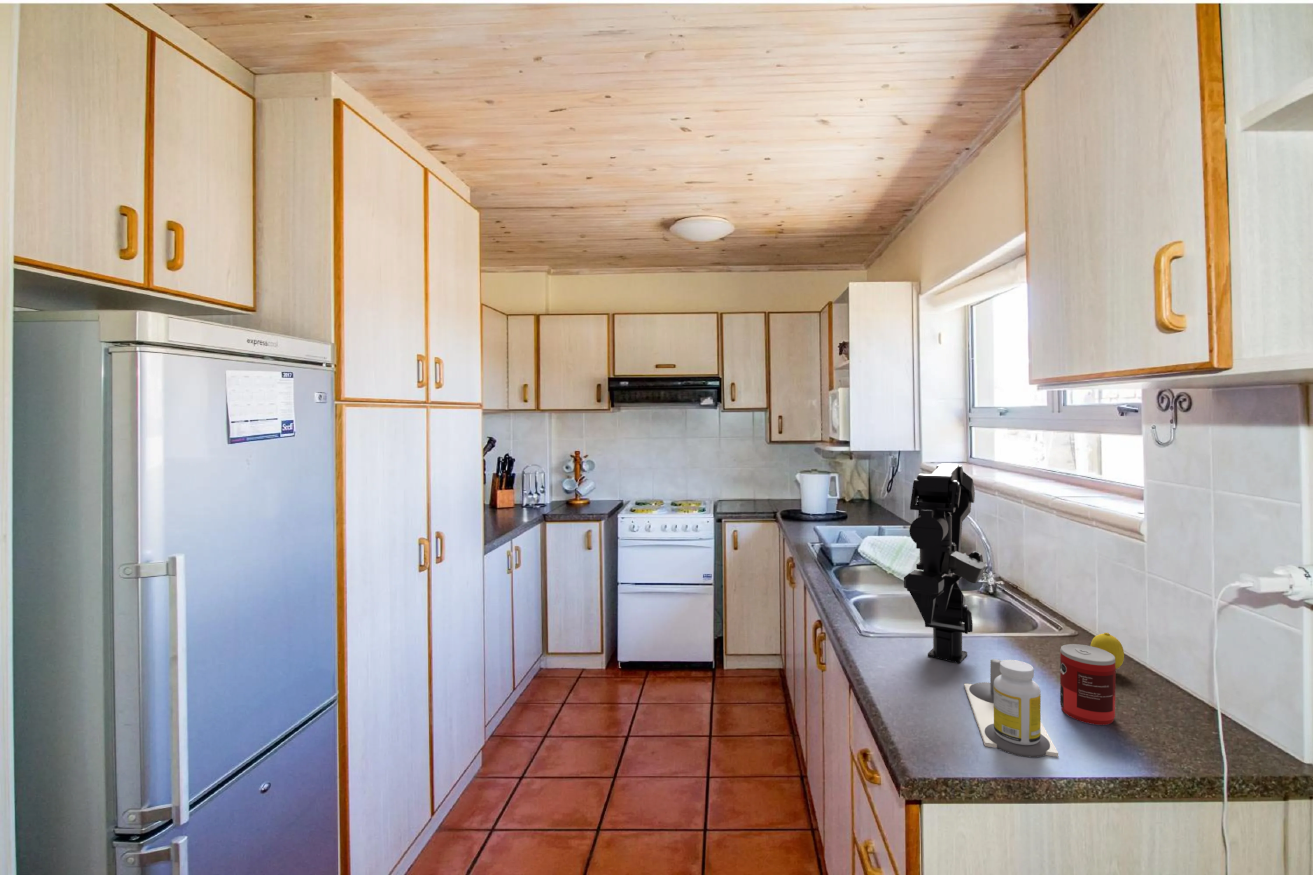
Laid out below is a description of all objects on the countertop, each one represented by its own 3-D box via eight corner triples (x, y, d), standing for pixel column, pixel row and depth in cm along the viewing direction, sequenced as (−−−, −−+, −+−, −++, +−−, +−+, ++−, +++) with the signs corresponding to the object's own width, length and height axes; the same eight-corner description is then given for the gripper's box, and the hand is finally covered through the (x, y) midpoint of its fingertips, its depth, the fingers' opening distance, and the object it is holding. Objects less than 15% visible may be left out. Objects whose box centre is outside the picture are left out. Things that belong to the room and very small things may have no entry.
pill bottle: (1039, 732, 98) (1040, 661, 97) (1041, 751, 92) (1042, 677, 92) (993, 722, 101) (994, 654, 101) (992, 740, 95) (993, 668, 95)
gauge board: (963, 682, 117) (963, 649, 117) (1021, 689, 114) (1021, 655, 114) (986, 750, 94) (986, 708, 94) (1061, 762, 90) (1061, 718, 90)
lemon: (1095, 675, 119) (1095, 636, 119) (1085, 664, 125) (1085, 626, 124) (1128, 679, 118) (1129, 638, 117) (1117, 667, 123) (1117, 629, 123)
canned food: (1078, 700, 110) (1078, 640, 109) (1126, 720, 102) (1126, 656, 102) (1049, 708, 107) (1049, 647, 106) (1096, 729, 99) (1096, 664, 99)
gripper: (967, 552, 105) (967, 640, 105) (993, 534, 119) (993, 612, 119) (902, 544, 112) (902, 626, 113) (933, 528, 126) (934, 602, 127)
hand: (935, 616), depth 118 cm, fingers open, 9 cm apart
